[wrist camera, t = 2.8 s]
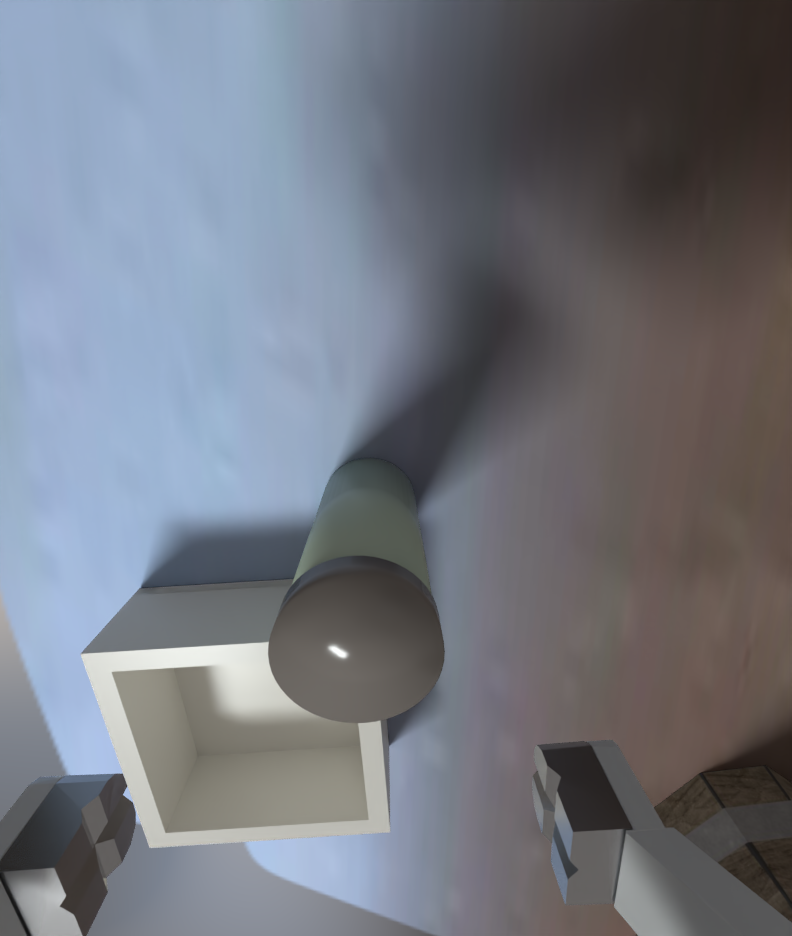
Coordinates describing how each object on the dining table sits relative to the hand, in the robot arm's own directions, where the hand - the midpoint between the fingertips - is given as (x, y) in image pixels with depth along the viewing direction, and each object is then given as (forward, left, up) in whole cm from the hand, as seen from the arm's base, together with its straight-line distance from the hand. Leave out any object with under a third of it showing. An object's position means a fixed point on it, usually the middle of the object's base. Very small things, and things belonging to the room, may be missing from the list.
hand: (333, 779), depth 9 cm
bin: (+10, -6, -13) cm, 17 cm away
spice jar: (0, 0, -13) cm, 13 cm away
